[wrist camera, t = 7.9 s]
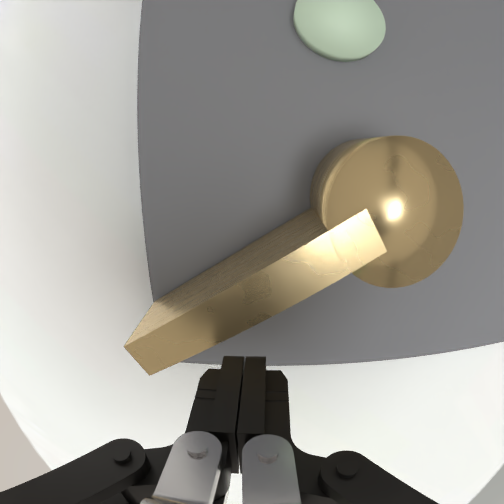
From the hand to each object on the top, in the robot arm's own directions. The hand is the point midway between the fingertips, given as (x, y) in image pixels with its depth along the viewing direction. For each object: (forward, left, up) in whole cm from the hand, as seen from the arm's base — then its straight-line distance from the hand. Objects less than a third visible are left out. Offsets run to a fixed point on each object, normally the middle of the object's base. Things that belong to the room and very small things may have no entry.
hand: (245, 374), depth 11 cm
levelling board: (-11, +12, -6) cm, 17 cm away
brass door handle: (-4, +1, -4) cm, 6 cm away
